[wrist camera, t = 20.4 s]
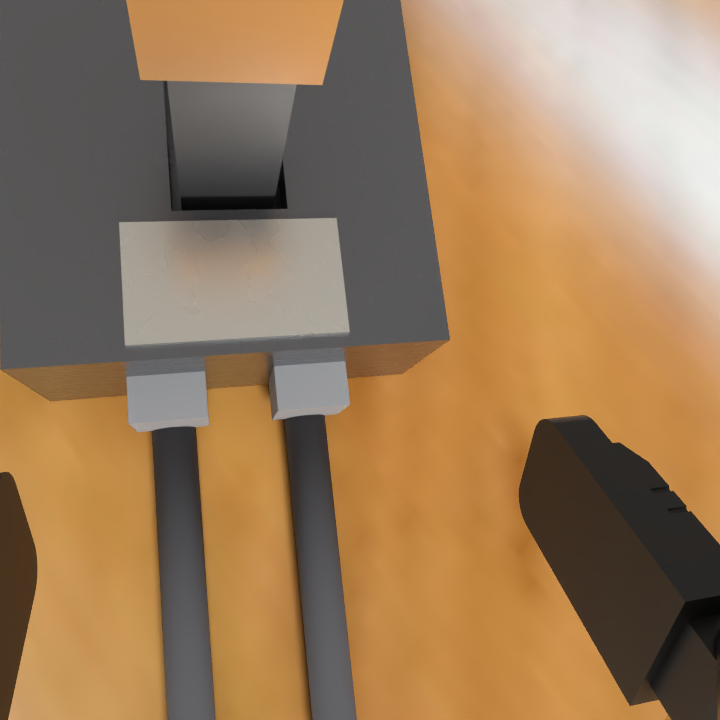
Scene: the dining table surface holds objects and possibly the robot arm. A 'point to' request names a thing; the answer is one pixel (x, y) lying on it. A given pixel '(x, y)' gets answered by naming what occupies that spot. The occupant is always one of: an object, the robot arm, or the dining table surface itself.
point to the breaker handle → (232, 87)
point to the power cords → (185, 533)
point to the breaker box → (205, 217)
